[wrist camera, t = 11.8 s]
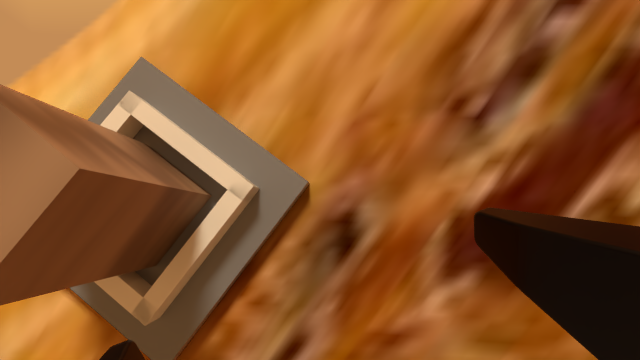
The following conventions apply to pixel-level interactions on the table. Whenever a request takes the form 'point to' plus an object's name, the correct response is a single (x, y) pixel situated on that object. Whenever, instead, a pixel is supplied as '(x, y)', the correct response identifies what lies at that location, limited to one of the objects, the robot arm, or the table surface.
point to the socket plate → (208, 225)
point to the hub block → (81, 200)
